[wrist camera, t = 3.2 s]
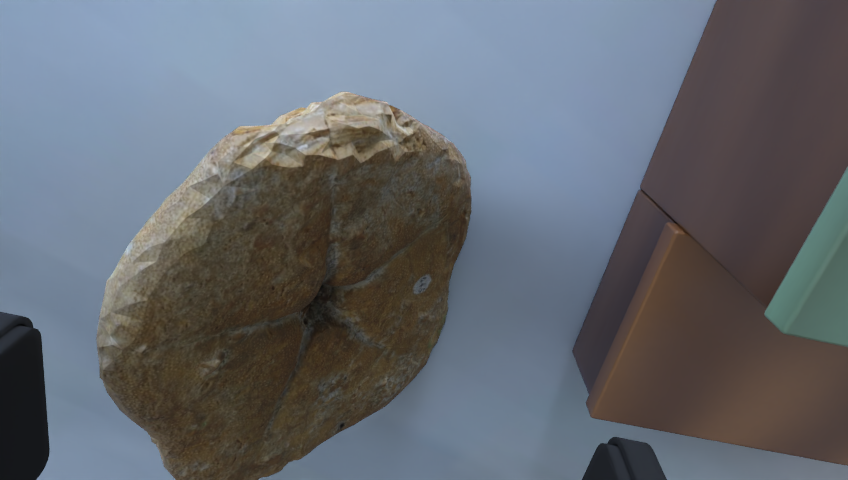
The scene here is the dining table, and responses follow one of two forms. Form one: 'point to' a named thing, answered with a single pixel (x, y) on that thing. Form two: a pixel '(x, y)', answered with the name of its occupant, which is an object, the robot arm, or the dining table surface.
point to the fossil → (285, 287)
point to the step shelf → (738, 246)
